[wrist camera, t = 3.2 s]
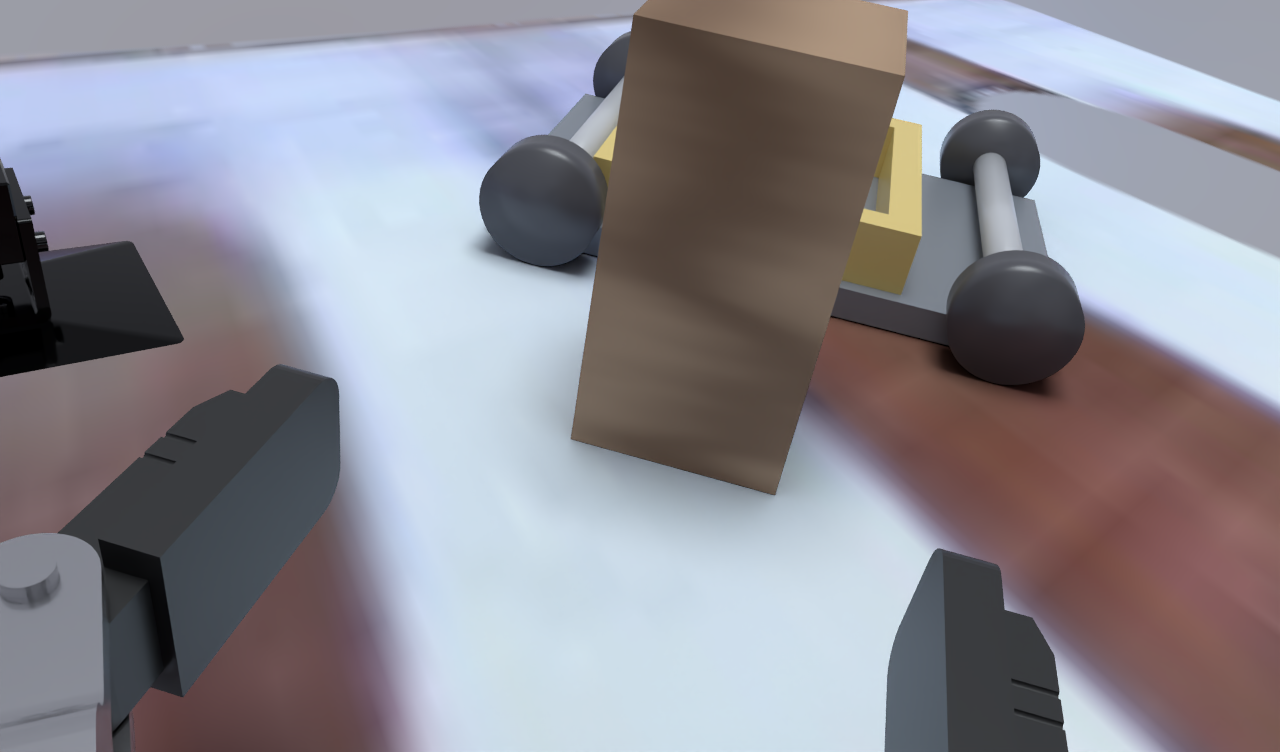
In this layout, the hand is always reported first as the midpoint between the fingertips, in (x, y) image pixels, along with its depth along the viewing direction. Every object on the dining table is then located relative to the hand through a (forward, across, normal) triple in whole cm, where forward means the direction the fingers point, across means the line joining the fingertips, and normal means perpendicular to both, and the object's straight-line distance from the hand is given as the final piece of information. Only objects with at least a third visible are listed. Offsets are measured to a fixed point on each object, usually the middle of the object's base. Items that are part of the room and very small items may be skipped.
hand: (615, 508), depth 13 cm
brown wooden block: (+11, 0, +6) cm, 13 cm away
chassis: (+23, -1, +6) cm, 24 cm away
